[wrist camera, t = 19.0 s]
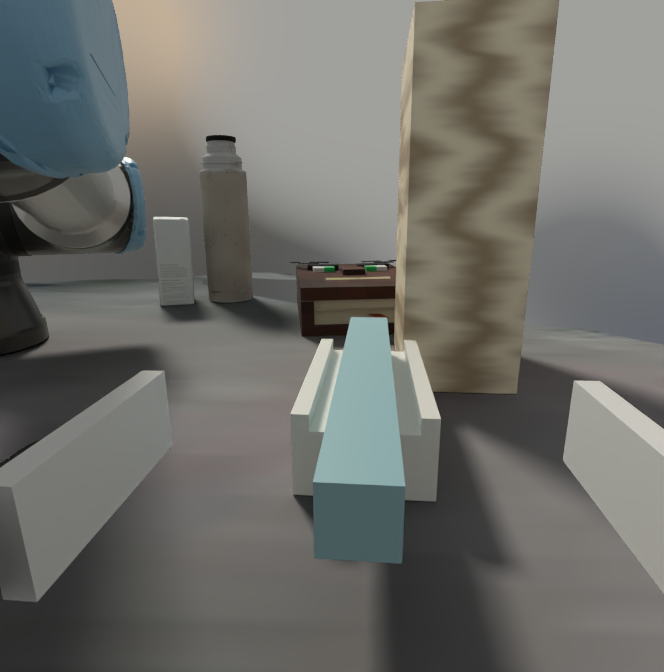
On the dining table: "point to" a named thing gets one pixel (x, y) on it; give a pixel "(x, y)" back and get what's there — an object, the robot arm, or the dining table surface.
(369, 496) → the bar
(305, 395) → the dock
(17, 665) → the dining table surface
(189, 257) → the skincare box
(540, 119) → the pedestal
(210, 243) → the thermos bottle
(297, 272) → the decorative book
